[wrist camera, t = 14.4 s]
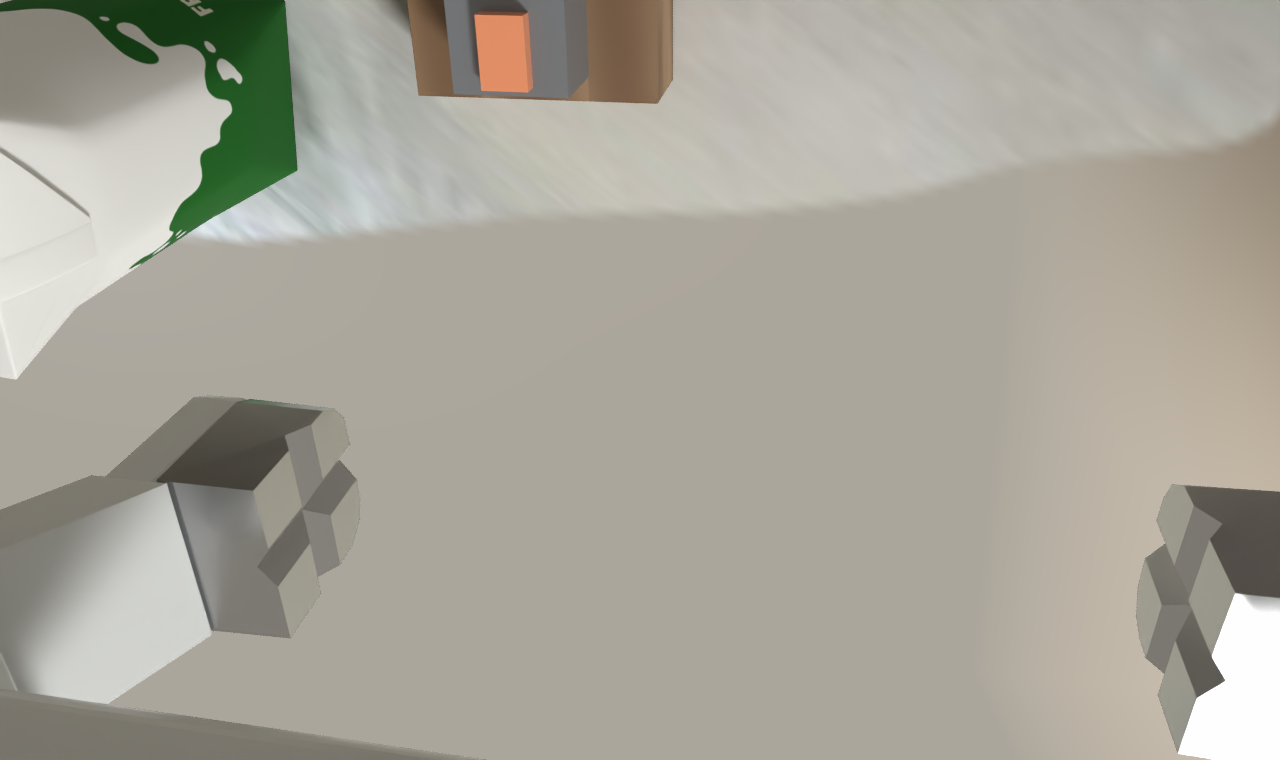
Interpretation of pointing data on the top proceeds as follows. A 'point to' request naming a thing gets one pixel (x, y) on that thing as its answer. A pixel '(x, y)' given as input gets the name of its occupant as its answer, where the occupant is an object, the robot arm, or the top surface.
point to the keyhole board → (617, 51)
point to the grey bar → (517, 47)
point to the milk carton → (126, 141)
